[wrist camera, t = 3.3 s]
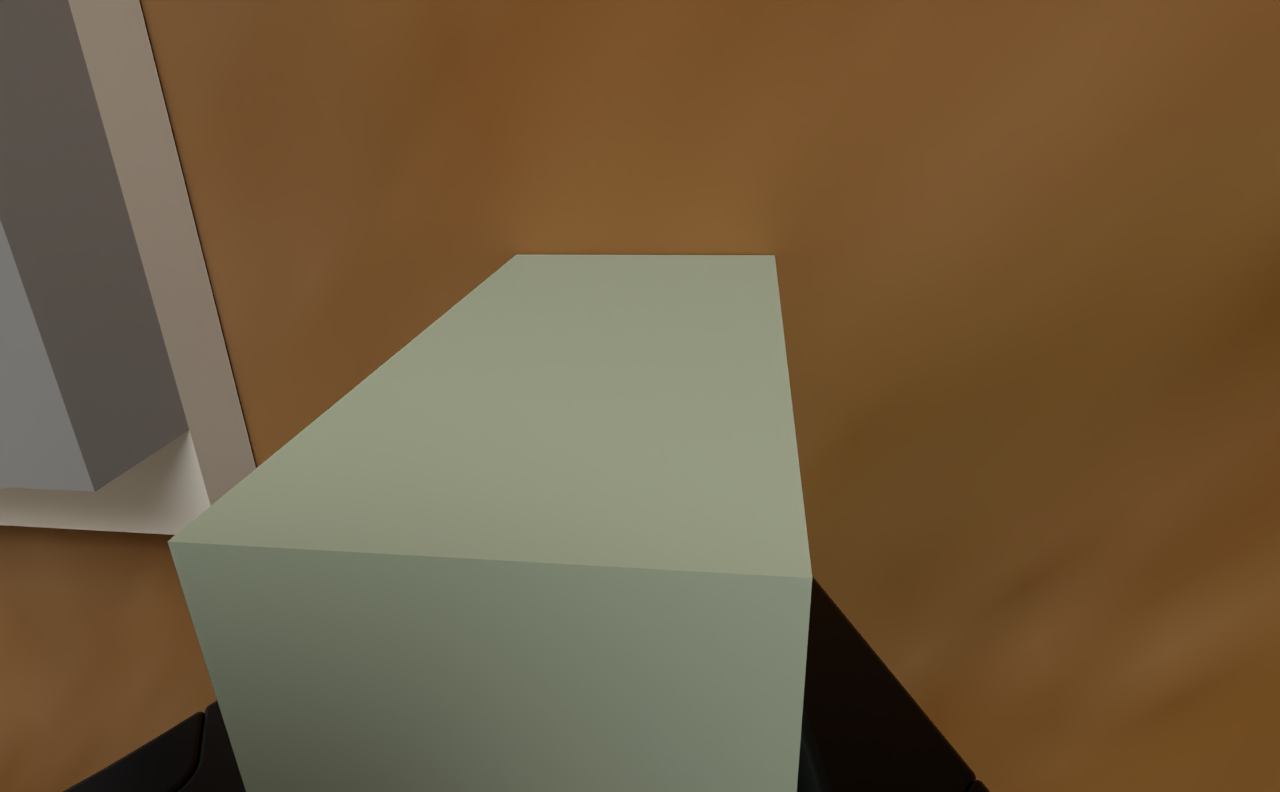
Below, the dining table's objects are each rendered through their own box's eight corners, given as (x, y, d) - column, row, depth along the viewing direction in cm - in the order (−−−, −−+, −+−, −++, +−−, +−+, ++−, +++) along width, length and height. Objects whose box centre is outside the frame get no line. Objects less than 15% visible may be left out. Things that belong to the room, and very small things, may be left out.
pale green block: (754, 723, 12) (758, 1323, 6) (557, 707, 12) (391, 1254, 6) (774, 255, 9) (812, 577, 3) (516, 254, 9) (166, 541, 4)
